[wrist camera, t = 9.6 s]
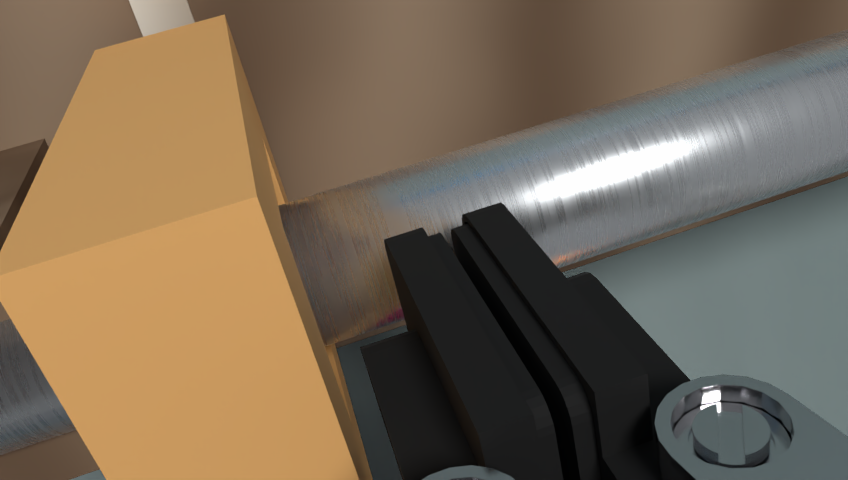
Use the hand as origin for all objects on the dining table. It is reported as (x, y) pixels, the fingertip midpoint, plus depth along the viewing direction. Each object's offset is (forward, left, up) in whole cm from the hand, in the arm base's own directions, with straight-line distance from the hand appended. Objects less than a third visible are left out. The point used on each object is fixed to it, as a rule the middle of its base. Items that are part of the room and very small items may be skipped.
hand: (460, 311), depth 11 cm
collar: (+3, 0, -6) cm, 7 cm away
